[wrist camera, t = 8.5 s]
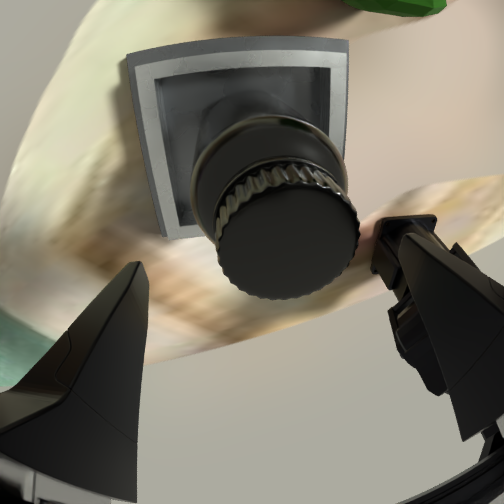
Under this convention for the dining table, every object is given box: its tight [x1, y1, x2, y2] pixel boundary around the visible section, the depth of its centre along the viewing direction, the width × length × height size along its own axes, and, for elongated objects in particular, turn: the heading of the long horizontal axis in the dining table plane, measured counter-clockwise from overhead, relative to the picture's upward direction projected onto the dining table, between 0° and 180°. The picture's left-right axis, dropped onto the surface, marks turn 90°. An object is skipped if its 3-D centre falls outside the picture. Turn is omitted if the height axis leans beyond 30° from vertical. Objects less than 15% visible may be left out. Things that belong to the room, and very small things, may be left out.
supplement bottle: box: [190, 92, 361, 300], centre depth 14 cm, size 7×7×12 cm
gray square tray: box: [126, 36, 349, 240], centre depth 18 cm, size 14×14×3 cm
